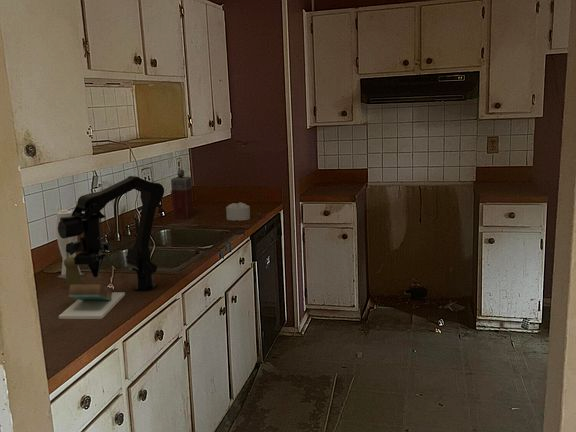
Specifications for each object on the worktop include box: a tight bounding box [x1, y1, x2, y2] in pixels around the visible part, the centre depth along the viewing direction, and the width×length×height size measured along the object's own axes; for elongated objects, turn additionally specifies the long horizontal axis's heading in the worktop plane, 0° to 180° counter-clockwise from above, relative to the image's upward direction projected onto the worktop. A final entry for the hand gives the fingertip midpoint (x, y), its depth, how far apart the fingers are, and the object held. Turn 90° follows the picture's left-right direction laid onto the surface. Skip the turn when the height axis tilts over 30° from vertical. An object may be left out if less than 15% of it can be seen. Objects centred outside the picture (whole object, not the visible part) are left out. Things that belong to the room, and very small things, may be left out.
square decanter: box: [170, 169, 195, 220], centre depth 328 cm, size 9×11×28 cm
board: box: [58, 291, 126, 320], centre depth 193 cm, size 22×14×1 cm, turn 177°
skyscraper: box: [55, 205, 85, 280], centre depth 225 cm, size 8×8×28 cm
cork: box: [64, 257, 83, 290], centre depth 213 cm, size 6×6×11 cm
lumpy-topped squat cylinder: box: [225, 202, 251, 222], centre depth 324 cm, size 10×13×9 cm
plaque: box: [68, 283, 113, 300], centre depth 191 cm, size 4×10×11 cm
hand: (95, 276), depth 195 cm, fingers closed
